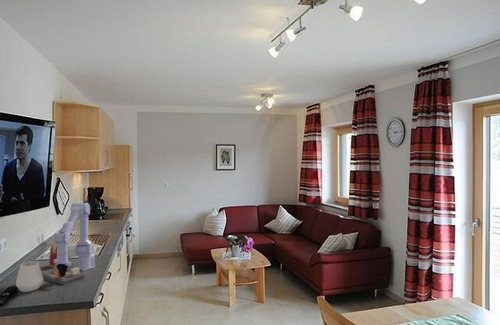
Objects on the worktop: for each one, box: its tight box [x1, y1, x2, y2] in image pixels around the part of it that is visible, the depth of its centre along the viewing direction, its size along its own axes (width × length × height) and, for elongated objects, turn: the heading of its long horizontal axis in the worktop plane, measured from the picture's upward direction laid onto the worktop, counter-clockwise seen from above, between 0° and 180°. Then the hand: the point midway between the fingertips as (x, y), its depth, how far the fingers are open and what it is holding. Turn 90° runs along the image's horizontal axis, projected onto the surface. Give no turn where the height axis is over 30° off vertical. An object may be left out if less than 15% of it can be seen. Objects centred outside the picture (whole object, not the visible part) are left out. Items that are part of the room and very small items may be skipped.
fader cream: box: [69, 266, 81, 276], centre depth 218 cm, size 4×3×4 cm, turn 150°
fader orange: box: [54, 270, 60, 278], centre depth 214 cm, size 4×3×4 cm, turn 150°
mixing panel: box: [42, 268, 85, 286], centre depth 220 cm, size 13×26×2 cm, turn 60°
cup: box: [15, 261, 45, 293], centre depth 202 cm, size 13×13×14 cm
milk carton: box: [48, 236, 58, 269], centre depth 245 cm, size 9×9×20 cm
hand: (62, 276), depth 213 cm, fingers closed
